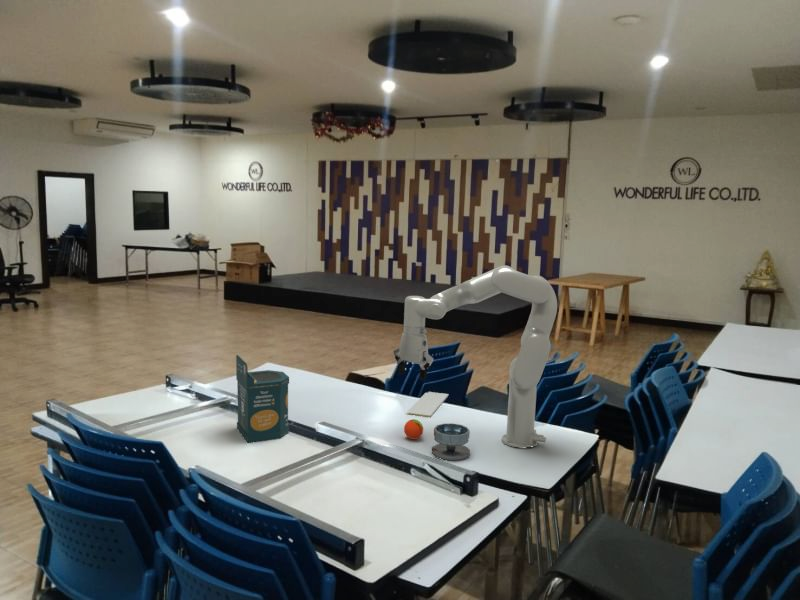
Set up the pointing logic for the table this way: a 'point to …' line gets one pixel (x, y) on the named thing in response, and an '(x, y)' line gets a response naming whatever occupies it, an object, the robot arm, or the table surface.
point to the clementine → (413, 429)
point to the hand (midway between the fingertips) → (412, 377)
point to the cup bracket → (451, 442)
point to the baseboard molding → (427, 404)
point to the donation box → (261, 403)
